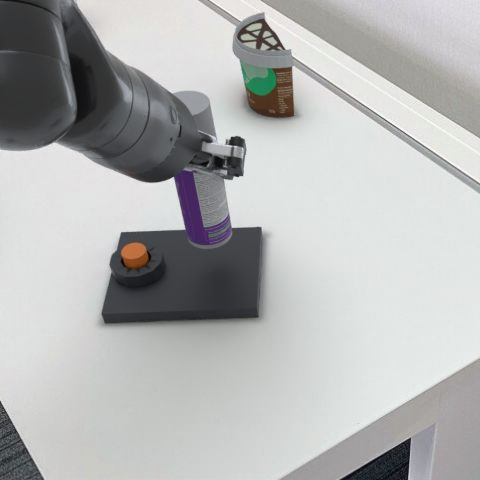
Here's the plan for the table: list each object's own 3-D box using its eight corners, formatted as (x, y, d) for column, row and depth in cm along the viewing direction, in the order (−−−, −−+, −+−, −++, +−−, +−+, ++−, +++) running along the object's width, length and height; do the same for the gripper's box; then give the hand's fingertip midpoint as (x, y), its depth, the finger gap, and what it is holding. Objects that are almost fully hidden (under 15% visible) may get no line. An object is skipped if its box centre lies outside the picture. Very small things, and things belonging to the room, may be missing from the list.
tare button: (122, 270, 81) (119, 259, 80) (126, 253, 83) (123, 242, 82) (147, 269, 81) (144, 258, 80) (150, 252, 83) (147, 242, 82)
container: (178, 232, 80) (148, 101, 68) (217, 214, 81) (194, 84, 70) (201, 255, 77) (174, 123, 66) (241, 236, 79) (221, 105, 68)
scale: (104, 323, 79) (96, 303, 77) (123, 241, 88) (117, 220, 86) (258, 317, 80) (255, 296, 77) (262, 235, 88) (260, 215, 86)
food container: (229, 87, 110) (219, 18, 103) (270, 78, 112) (263, 10, 104) (254, 131, 103) (245, 60, 95) (297, 121, 104) (292, 51, 96)
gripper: (38, 163, 60) (133, 196, 76) (213, 183, 58) (270, 213, 74) (49, 66, 59) (141, 120, 76) (225, 83, 57) (280, 135, 74)
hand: (205, 166), depth 75 cm, fingers closed on container, 4 cm apart
